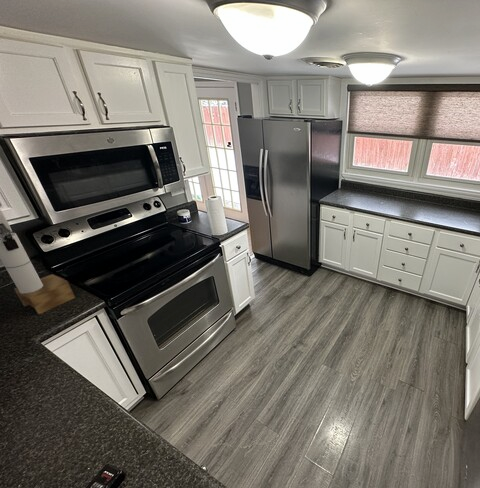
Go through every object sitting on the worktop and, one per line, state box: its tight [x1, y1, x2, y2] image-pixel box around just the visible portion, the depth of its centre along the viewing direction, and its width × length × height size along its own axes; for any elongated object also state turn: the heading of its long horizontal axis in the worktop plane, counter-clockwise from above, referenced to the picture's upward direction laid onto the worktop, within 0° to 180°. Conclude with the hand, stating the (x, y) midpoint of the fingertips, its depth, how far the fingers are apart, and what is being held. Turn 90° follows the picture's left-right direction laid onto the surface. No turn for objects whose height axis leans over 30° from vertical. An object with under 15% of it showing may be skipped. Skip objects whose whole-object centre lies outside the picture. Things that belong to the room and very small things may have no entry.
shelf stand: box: [13, 273, 76, 315], centre depth 127 cm, size 14×14×10 cm
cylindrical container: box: [0, 232, 43, 293], centre depth 109 cm, size 7×7×25 cm
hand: (8, 247), depth 105 cm, fingers closed on cylindrical container, 7 cm apart
